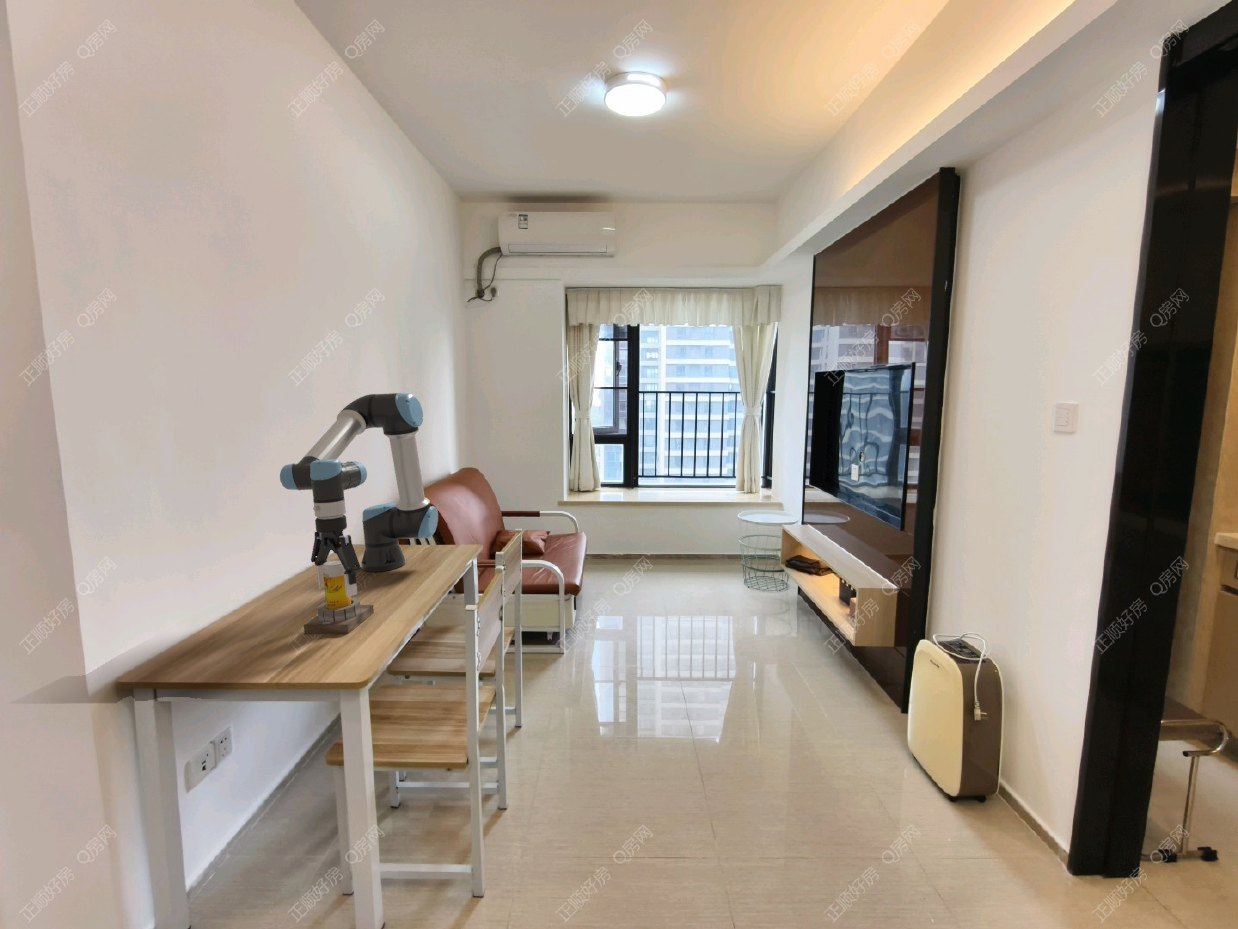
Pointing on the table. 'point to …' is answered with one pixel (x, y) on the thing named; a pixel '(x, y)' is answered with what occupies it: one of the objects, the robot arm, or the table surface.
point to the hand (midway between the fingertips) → (337, 591)
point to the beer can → (335, 585)
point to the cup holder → (338, 618)
